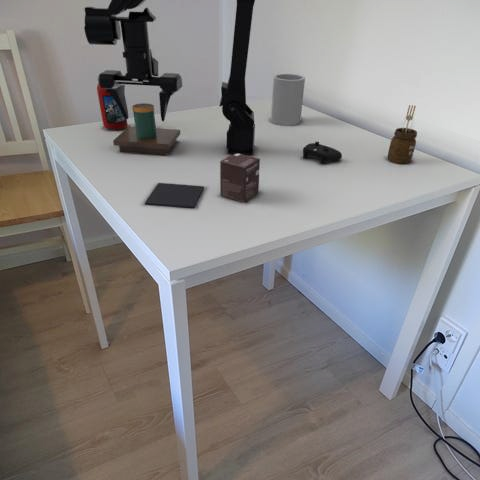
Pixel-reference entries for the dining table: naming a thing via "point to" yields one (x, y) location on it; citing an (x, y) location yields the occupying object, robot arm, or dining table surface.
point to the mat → (175, 195)
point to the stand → (147, 141)
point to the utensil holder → (403, 142)
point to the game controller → (321, 152)
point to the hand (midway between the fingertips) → (145, 119)
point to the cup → (287, 99)
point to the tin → (144, 120)
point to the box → (239, 177)
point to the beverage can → (110, 111)
